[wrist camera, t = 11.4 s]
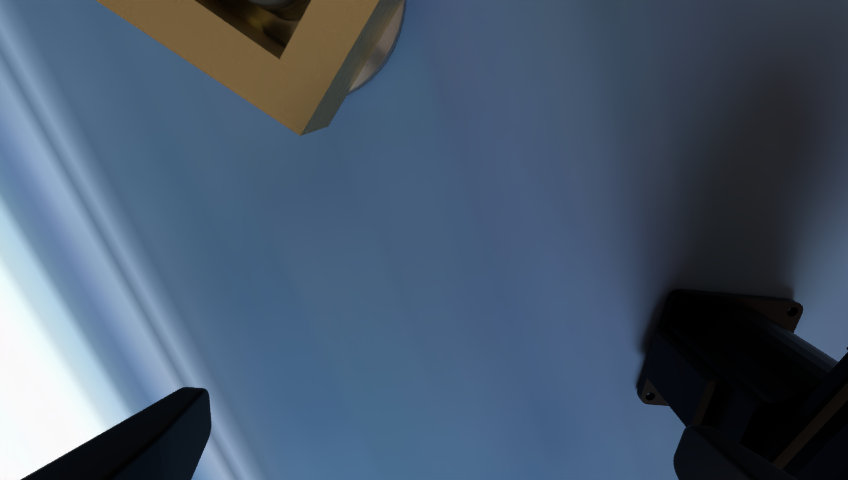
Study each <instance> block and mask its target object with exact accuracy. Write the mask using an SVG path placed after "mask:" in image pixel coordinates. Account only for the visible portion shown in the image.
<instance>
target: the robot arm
mask: <svg viewBox="0 0 848 480" xmlns="http://www.w3.org/2000/svg"><path fill="white" fill-rule="evenodd" d="M680 298H683V299H682V301H681V302H679V303H677V301H678V300H679V299H680ZM790 308H791V309H790ZM789 309H790V310H789ZM788 310H789V311H788ZM787 311H788V312H787ZM802 313H803V306H802V305H801V304H800V303H798V302H796V301H794V300H792V299H786V298H774V297H763V296H752V295H741V294H729V293H718V292H707V291H696V290H684V289H677V290H674V291H672V292H671V293H670V294H669V296H668V298H667V301H666V304H665V307H664V310H663V313H662V316H661V319H660V323H659V326H658V329H657V331H656V333H655V335H654V338H653V341H652V345H651V348H650V351H649V354H648V357H647V360H646V363H645V366H644V369H643V375H642V378H641V381H640V384H639V387H638V390H637V395H638V397H639V398H640V399H641V401H642V402H643V403H645V404H651V405H664V406H670V408H671V409H672V410H673V411H674V413H675V414H676V415H677V416H678V417H679V419H680V420H681V421H682V422H683V424H684V425H685V426H686V428H685V429H684V431H683V434H682V437H681V439H680V442H679V444H678V447H677V450H676V452H675V455H674V461H673V462H674V469H675V472H676V474H677V477H678V479H679V480H848V352H847V353H846V354H845V356H844V357H843V358H842V359H841V360H840V361H839V362H838V361H836V360H835V359H833V358H831V357H830V356H828V355H827V354H825V353H824V352H822V351H820V350H819V349H817V348H816V347H814V346H813V345H811V344H809V343H808V342H806V341H805V340H803V339H801V338H800V337H798V336H797V335H795V334H794V330H795V328H796V326H797V324H798V322H799V319H800V317H801V315H802ZM846 349H847V350H848V347H847V348H846ZM648 393H650V394H649V395H647V394H648ZM210 432H211V412H210V400H209V393H208V391H207V390H206V389H204V388H194V387H183V388H181V389H179V390H177V391H175V392H173V393H171V394H170V395H168V396H166V397H164V398H163V399H161V400H159V401H157V402H156V403H154V404H152V405H150V406H149V407H147V408H145V409H143V410H142V411H140V412H138V413H136V414H135V415H133V416H131V417H129V418H128V419H126V420H124V421H122V422H121V423H119V424H117V425H115V426H114V427H112V428H110V429H108V430H107V431H105V432H103V433H101V434H100V435H98V436H96V437H94V438H93V439H91V440H89V441H87V442H86V443H84V444H82V445H80V446H79V447H77V448H75V449H73V450H72V451H70V452H68V453H66V454H65V455H63V456H61V457H59V458H58V459H56V460H54V461H52V462H51V463H49V464H47V465H45V466H44V467H42V468H40V469H38V470H37V471H35V472H33V473H31V474H30V475H28V476H26V477H24V478H23V479H21V480H191V479H192V476H193V474H194V472H195V469H196V467H197V465H198V462H199V460H200V458H201V455H202V453H203V451H204V448H205V446H206V443H207V441H208V439H209V436H210Z"/></svg>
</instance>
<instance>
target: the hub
mask: <svg viewBox="0 0 848 480" xmlns="http://www.w3.org/2000/svg"><path fill="white" fill-rule="evenodd" d="M217 1H219V2H220V3H222V4H223V5H225V6H226V7H227V8H229V9H230V10H232V11H233V12H234V13H236V14H237V15H239V16H240V17H242V18H243V19H244V20H246V21H247V22H249V23H250V24H251V25H253V26H254V27H256V28H257V29H259V30H260V31H261V32H263V33H264V34H266V35H267V36H269V37H270V38H271V39H273V40H274V41H276V42H277V43H278V44H280V45H281V46H283V47H284V48H286V47H287V45H288V43H289V41H290V39H291V37H292V35H293V33H294V32H295V30H296V28H297V26H298V24H299V22H300V20H301V18H302V17H303V15H304V13H305V11H306V9H307V7H308V5H309V4H310V2H311V0H217ZM405 7H406V0H403V2H402V4H401V5H400V7H399V9H398V10H397V12H396V14H395V15H394V17H393V19H392V20H391V22H390V24H389V25H388V27H387V29H386V30H385V32H384V34H383V35H382V37H381V39H380V41H379V42H378V44H377V46H376V47H375V49H374V51H373V52H372V54H371V56H370V57H369V59H368V61H367V62H366V64H365V66H364V67H363V69H362V71H361V72H360V74H359V76H358V77H357V79H356V81H355V82H354V84H353V86H352V87H351V89H350V91H349V92H348V94H347V95H349V94H351V93H353V92H355V91H356V90H358V89H360V88H361V87H363V86H364V85H365V84H367V83H368V82H369V81H370V80H372V79H373V77H374V76H375V75H376V74H377V73H378V72H379V71H380V70H381V69H382V67H383V66H384V65H385V63H386V62H387V61H388V59H389V57H390V56H391V54H392V52H393V50H394V48H395V46H396V43H397V41H398V38H399V36H400V33H401V29H402V25H403V21H404V15H405Z"/></svg>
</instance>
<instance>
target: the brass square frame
mask: <svg viewBox="0 0 848 480" xmlns="http://www.w3.org/2000/svg"><path fill="white" fill-rule="evenodd" d="M96 1H98V2H99V3H101V4H102V5H104V6H105V7H107V8H108V9H110V10H111V11H113V12H114V13H116V14H117V15H119V16H120V17H122V18H123V19H125V20H126V21H128V22H129V23H131V24H132V25H134V26H135V27H137V28H138V29H140V30H142V31H143V32H145V33H146V34H148V35H149V36H151V37H152V38H154V39H155V40H157V41H158V42H160V43H161V44H163V45H164V46H166V47H167V48H169V49H170V50H172V51H173V52H175V53H176V54H178V55H179V56H181V57H182V58H184V59H185V60H187V61H188V62H190V63H191V64H193V65H194V66H196V67H197V68H199V69H200V70H202V71H203V72H205V73H206V74H208V75H209V76H211V77H212V78H214V79H215V80H217V81H218V82H220V83H221V84H223V85H224V86H226V87H227V88H229V89H230V90H232V91H233V92H235V93H236V94H238V95H239V96H241V97H243V98H244V99H246V100H247V101H249V102H250V103H252V104H253V105H255V106H256V107H258V108H259V109H261V110H262V111H264V112H265V113H267V114H268V115H270V116H271V117H273V118H274V119H276V120H277V121H279V122H280V123H282V124H283V125H285V126H286V127H288V128H289V129H291V130H292V131H294V132H295V133H297V134H298V135H300V136H302V135H304V134H307V133H310V132H313V131H316V130H319V129H322V128H325V127H328V126H329V124H330V122H331V121H332V119H333V117H334V116H335V114H336V112H337V111H338V109H339V107H340V106H341V104H342V102H343V101H344V99H345V97H346V96H347V94H348V92H349V91H350V89H351V87H352V86H353V84H354V82H355V81H356V79H357V77H358V76H359V74H360V72H361V71H362V69H363V67H364V66H365V64H366V62H367V61H368V59H369V57H370V56H371V54H372V52H373V51H374V49H375V47H376V46H377V44H378V42H379V41H380V39H381V37H382V35H383V34H384V32H385V30H386V29H387V27H388V25H389V24H390V22H391V20H392V19H393V17H394V15H395V14H396V12H397V10H398V9H399V7H400V5H401V4H402V2H403V0H311V2H310V4H309V5H308V7H307V9H306V11H305V13H304V15H303V17H302V18H301V20H300V22H299V24H298V26H297V28H296V30H295V32H294V33H293V35H292V37H291V39H290V41H289V43H288V45H287V47H286V48H284V47H283V46H281V45H280V44H278V43H277V42H276V41H274V40H273V39H271V38H270V37H269V36H267V35H266V34H264V33H263V32H261V31H260V30H259V29H257V28H256V27H254V26H253V25H251V24H250V23H249V22H247V21H246V20H244V19H243V18H242V17H240V16H239V15H237V14H236V13H234V12H233V11H232V10H230V9H229V8H227V7H226V6H225V5H223V4H222V3H220V2H219V1H217V0H96Z"/></svg>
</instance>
